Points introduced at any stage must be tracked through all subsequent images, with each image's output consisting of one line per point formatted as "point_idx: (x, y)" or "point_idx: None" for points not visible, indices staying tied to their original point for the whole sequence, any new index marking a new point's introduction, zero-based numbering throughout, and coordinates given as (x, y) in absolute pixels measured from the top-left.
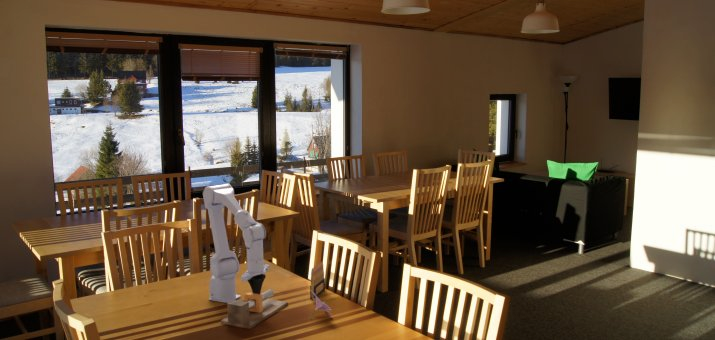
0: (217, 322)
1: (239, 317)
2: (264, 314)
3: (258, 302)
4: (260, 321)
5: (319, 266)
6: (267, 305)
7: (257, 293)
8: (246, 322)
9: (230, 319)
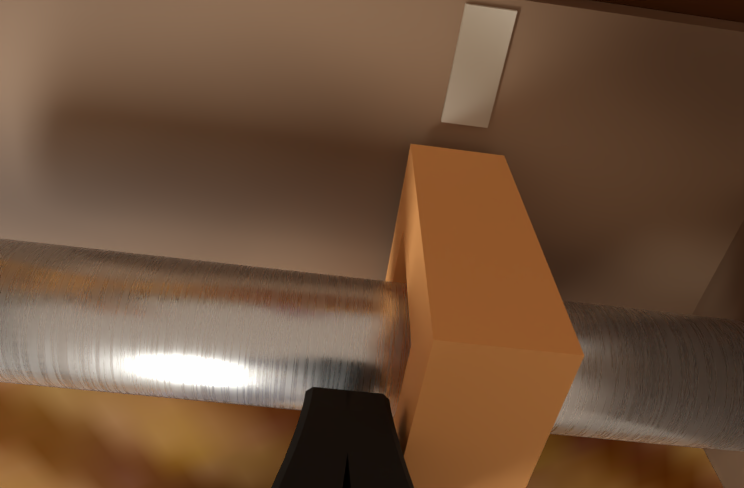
0: (704, 457)
1: None
2: (505, 61)
3: (536, 271)
4: (715, 21)
5: None
6: (130, 184)
7: (396, 448)
8: None
9: None
